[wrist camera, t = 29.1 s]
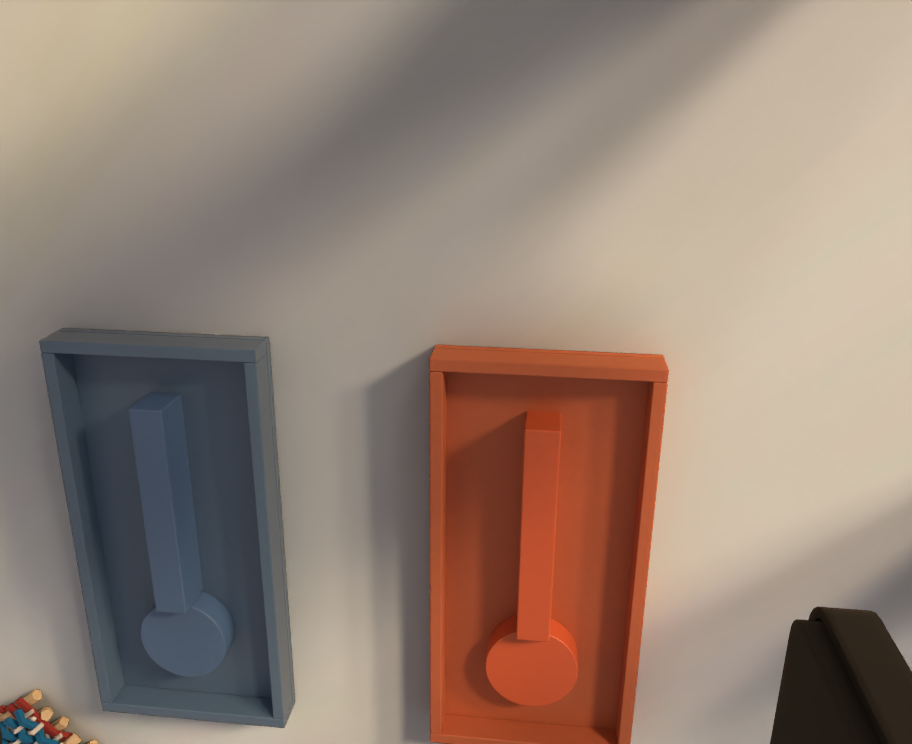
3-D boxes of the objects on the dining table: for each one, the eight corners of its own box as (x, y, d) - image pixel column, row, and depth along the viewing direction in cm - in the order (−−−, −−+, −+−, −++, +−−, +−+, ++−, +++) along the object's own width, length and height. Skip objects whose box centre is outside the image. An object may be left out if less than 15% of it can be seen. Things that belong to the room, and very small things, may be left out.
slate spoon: (120, 390, 40) (96, 407, 38) (211, 394, 40) (192, 412, 37) (157, 656, 45) (138, 684, 43) (238, 663, 45) (223, 691, 43)
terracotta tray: (435, 344, 38) (429, 358, 36) (663, 354, 37) (669, 369, 35) (435, 714, 45) (429, 742, 43) (625, 732, 44) (628, 761, 42)
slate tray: (62, 327, 40) (38, 340, 38) (269, 336, 39) (254, 350, 37) (120, 685, 47) (102, 711, 45) (295, 701, 46) (284, 728, 44)
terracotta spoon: (493, 408, 38) (489, 427, 36) (594, 413, 38) (596, 433, 36) (486, 683, 43) (482, 714, 41) (575, 691, 43) (575, 722, 41)
